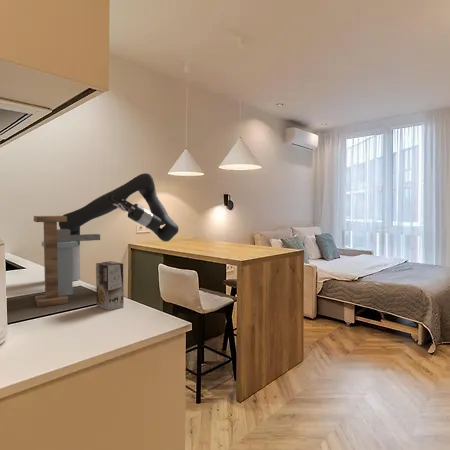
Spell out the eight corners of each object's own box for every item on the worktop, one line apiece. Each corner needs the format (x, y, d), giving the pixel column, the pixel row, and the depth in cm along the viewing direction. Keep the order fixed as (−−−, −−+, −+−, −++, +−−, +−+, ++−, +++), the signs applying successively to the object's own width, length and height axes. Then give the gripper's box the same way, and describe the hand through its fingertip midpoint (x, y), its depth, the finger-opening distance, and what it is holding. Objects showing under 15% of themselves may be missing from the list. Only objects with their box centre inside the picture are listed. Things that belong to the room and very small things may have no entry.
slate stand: (42, 292, 147) (41, 241, 146) (72, 289, 154) (72, 239, 153) (46, 298, 138) (45, 243, 136) (78, 294, 144) (77, 242, 143)
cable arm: (49, 241, 146) (49, 229, 146) (97, 239, 157) (97, 228, 156) (51, 242, 140) (51, 230, 140) (101, 240, 151) (101, 229, 151)
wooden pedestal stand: (35, 300, 134) (33, 215, 133) (63, 297, 140) (62, 215, 138) (38, 307, 126) (36, 216, 125) (68, 303, 132) (66, 216, 130)
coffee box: (124, 307, 127) (124, 263, 126) (108, 310, 122) (107, 265, 122) (111, 302, 133) (111, 260, 133) (95, 305, 129) (95, 262, 128)
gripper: (138, 208, 169) (109, 190, 160) (150, 208, 157) (118, 189, 149) (131, 221, 167) (101, 204, 159) (142, 222, 155) (110, 204, 147)
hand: (109, 197), depth 154 cm, fingers open, 8 cm apart
